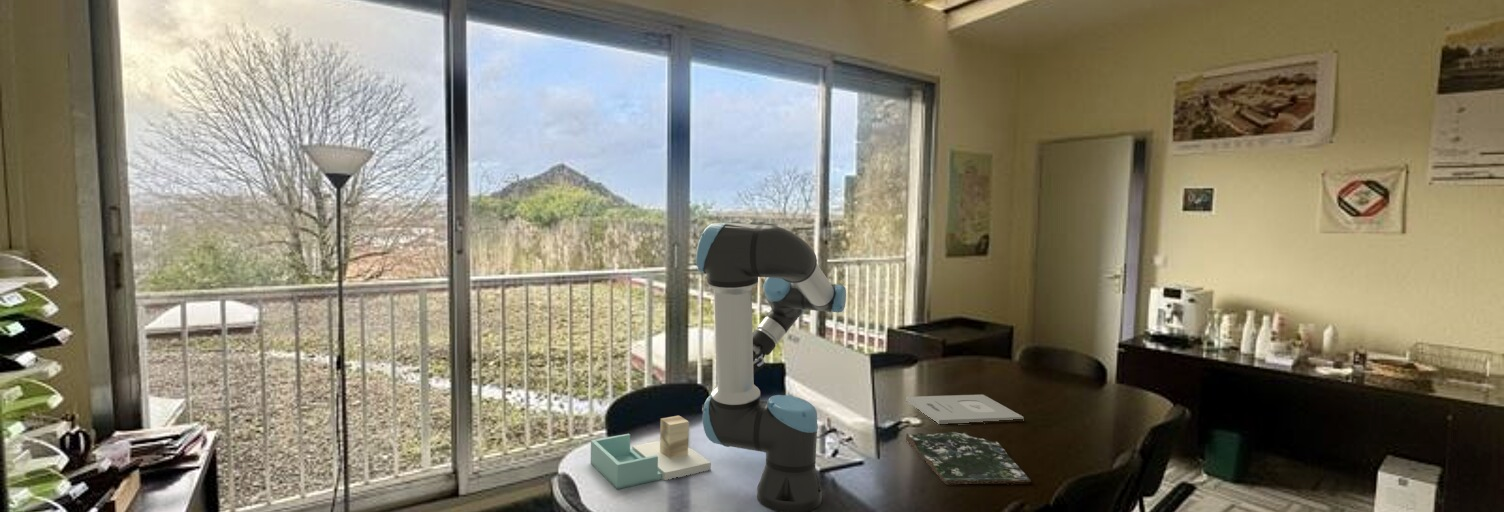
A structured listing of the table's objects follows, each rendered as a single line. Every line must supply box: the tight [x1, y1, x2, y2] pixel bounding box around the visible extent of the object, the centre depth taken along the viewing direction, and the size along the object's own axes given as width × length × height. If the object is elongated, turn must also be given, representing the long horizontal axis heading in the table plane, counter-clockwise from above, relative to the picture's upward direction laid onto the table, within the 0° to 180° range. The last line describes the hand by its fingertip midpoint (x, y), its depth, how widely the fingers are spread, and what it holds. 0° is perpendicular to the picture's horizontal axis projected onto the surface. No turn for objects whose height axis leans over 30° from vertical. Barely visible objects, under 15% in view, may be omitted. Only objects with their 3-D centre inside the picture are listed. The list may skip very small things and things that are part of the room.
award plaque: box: [905, 394, 1024, 425], centre depth 226 cm, size 25×30×2 cm
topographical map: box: [905, 431, 1032, 486], centre depth 183 cm, size 26×33×3 cm
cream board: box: [631, 440, 712, 481], centre depth 175 cm, size 20×13×2 cm, turn 34°
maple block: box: [659, 415, 690, 459], centre depth 175 cm, size 6×6×9 cm
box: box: [590, 433, 662, 490], centre depth 167 cm, size 18×12×6 cm, turn 34°
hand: (714, 402), depth 181 cm, fingers closed
